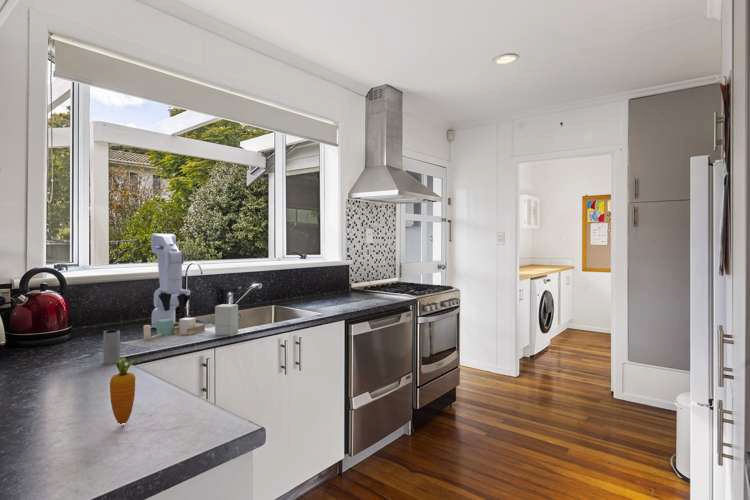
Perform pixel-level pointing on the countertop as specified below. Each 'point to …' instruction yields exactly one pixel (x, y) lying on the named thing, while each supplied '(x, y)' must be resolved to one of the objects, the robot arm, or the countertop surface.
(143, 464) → the countertop surface
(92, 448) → the countertop surface
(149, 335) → the strung block
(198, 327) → the lane shelf
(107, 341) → the planter
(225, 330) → the supplement box
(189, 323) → the plain block
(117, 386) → the carrot
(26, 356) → the countertop surface
